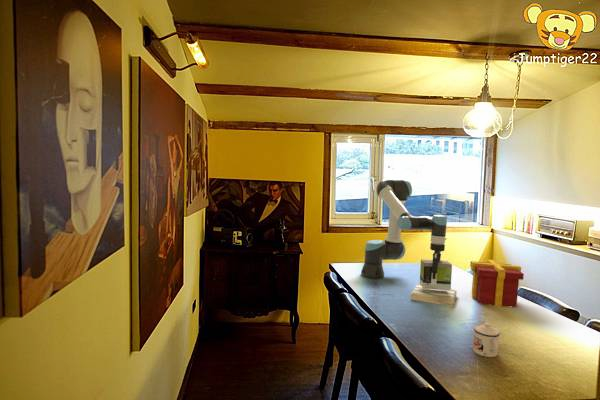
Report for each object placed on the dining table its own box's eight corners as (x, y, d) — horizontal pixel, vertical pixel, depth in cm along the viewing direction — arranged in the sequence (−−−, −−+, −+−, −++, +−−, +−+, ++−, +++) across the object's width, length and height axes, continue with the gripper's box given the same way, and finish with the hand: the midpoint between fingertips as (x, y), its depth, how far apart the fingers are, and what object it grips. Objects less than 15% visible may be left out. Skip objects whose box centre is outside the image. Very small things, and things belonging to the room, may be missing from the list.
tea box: (446, 285, 228) (448, 260, 227) (450, 291, 218) (452, 264, 217) (419, 283, 230) (420, 258, 229) (422, 289, 220) (424, 262, 219)
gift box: (464, 291, 240) (467, 257, 239) (510, 295, 235) (513, 261, 234) (474, 304, 216) (477, 267, 214) (524, 310, 211) (528, 272, 209)
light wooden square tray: (416, 290, 238) (416, 283, 238) (456, 296, 229) (456, 289, 229) (410, 299, 220) (411, 292, 220) (453, 306, 211) (454, 299, 211)
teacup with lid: (468, 347, 162) (470, 319, 161) (489, 347, 163) (491, 319, 162) (484, 361, 150) (486, 331, 149) (507, 361, 151) (510, 331, 150)
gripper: (442, 247, 210) (439, 288, 212) (446, 240, 231) (444, 278, 233) (427, 245, 213) (424, 286, 215) (433, 239, 234) (430, 276, 236)
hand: (434, 281), depth 224 cm, fingers closed on tea box, 11 cm apart
